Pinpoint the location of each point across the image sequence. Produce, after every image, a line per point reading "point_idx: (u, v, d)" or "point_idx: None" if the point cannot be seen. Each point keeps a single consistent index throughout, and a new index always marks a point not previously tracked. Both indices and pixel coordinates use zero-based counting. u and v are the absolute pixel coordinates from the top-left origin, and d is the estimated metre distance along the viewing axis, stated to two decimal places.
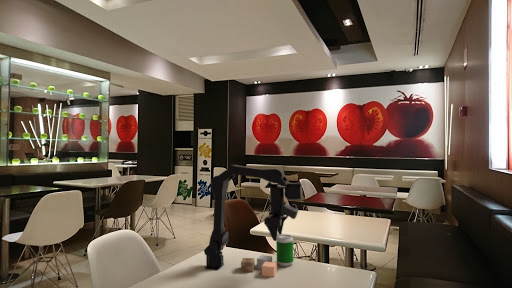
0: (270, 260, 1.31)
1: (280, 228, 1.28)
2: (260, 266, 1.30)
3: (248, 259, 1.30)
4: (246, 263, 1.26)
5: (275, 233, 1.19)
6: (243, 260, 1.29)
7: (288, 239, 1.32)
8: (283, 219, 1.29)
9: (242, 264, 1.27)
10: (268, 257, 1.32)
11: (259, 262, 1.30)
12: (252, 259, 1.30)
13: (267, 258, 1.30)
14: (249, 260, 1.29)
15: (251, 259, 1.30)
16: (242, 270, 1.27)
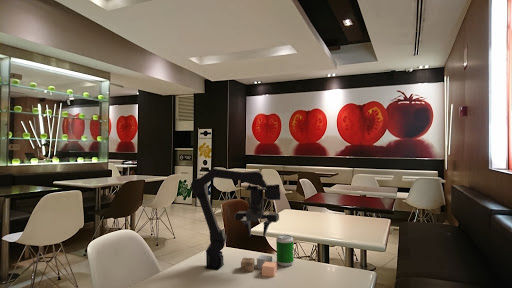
0: (270, 260, 1.31)
1: None
2: (260, 266, 1.30)
3: (248, 259, 1.30)
4: (246, 263, 1.26)
5: None
6: (243, 260, 1.29)
7: (288, 239, 1.31)
8: None
9: (242, 264, 1.27)
10: (268, 257, 1.32)
11: (259, 262, 1.30)
12: (252, 259, 1.30)
13: (267, 258, 1.30)
14: (249, 260, 1.29)
15: (251, 259, 1.30)
16: (242, 270, 1.27)
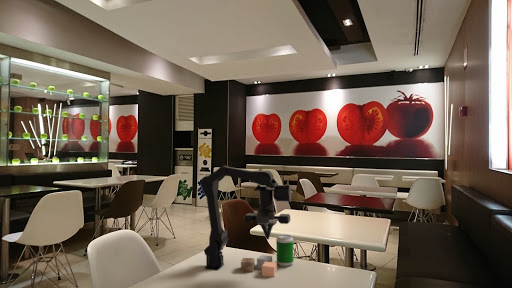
0: (270, 260, 1.31)
1: None
2: (260, 266, 1.30)
3: (248, 259, 1.30)
4: (246, 263, 1.26)
5: None
6: (243, 260, 1.29)
7: (288, 239, 1.31)
8: None
9: (242, 264, 1.27)
10: (268, 257, 1.32)
11: (259, 262, 1.30)
12: (252, 259, 1.30)
13: (267, 258, 1.30)
14: (249, 260, 1.29)
15: (251, 259, 1.30)
16: (242, 270, 1.27)
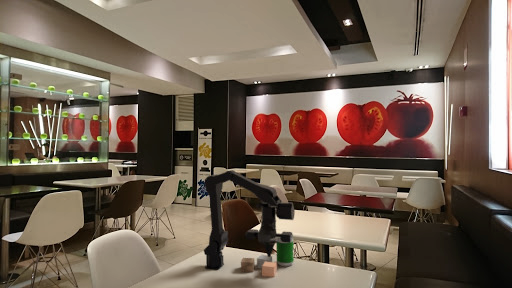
0: (270, 260, 1.31)
1: None
2: (260, 266, 1.30)
3: (248, 259, 1.30)
4: (246, 263, 1.26)
5: None
6: (243, 260, 1.29)
7: None
8: None
9: (242, 264, 1.27)
10: (268, 257, 1.32)
11: (259, 262, 1.30)
12: (252, 259, 1.30)
13: (267, 258, 1.30)
14: (249, 260, 1.29)
15: (251, 259, 1.30)
16: (242, 270, 1.27)
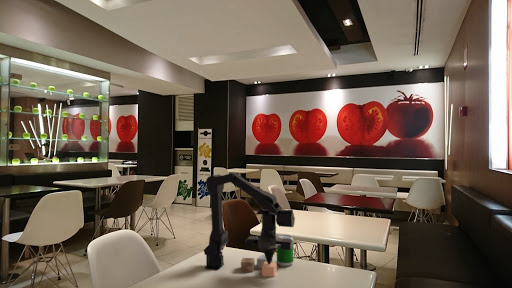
0: None
1: None
2: (260, 266, 1.30)
3: (248, 259, 1.30)
4: (246, 263, 1.26)
5: None
6: (243, 260, 1.29)
7: None
8: None
9: (242, 264, 1.27)
10: None
11: (259, 262, 1.30)
12: (252, 259, 1.30)
13: None
14: (249, 260, 1.29)
15: (251, 259, 1.30)
16: (242, 270, 1.27)
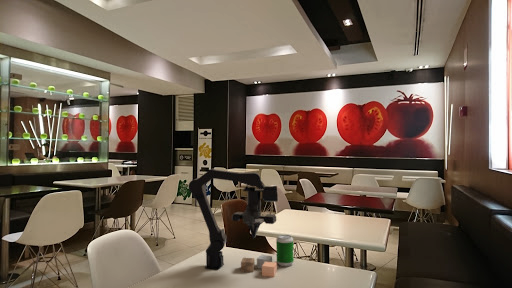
0: (270, 260, 1.31)
1: None
2: (260, 266, 1.30)
3: (248, 259, 1.30)
4: (246, 263, 1.26)
5: None
6: (243, 260, 1.29)
7: (288, 239, 1.32)
8: None
9: (242, 264, 1.27)
10: (268, 257, 1.32)
11: (259, 261, 1.30)
12: (252, 259, 1.30)
13: (267, 258, 1.30)
14: (249, 260, 1.29)
15: (251, 259, 1.30)
16: (242, 270, 1.27)
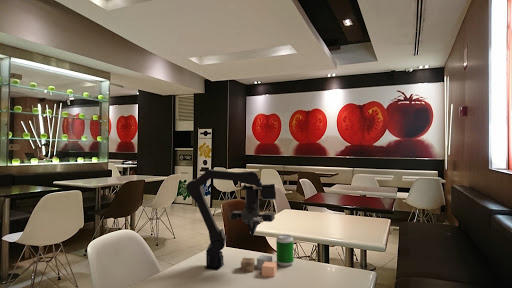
0: (270, 260, 1.31)
1: None
2: (260, 266, 1.30)
3: (248, 259, 1.30)
4: (246, 263, 1.26)
5: None
6: (243, 260, 1.29)
7: (288, 239, 1.32)
8: None
9: (242, 264, 1.27)
10: (268, 257, 1.32)
11: (259, 261, 1.30)
12: (252, 259, 1.30)
13: (267, 258, 1.30)
14: (249, 260, 1.29)
15: (251, 259, 1.30)
16: (242, 270, 1.27)
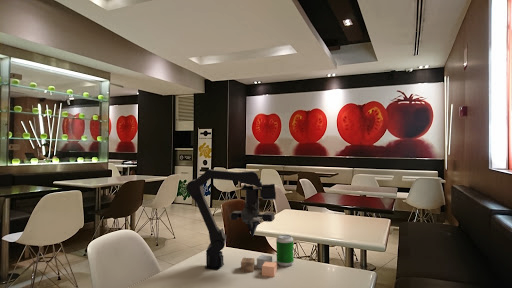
0: (270, 260, 1.31)
1: None
2: (260, 266, 1.30)
3: (248, 259, 1.30)
4: (246, 263, 1.26)
5: None
6: (243, 260, 1.29)
7: (288, 239, 1.32)
8: None
9: (242, 264, 1.27)
10: (268, 257, 1.32)
11: (259, 261, 1.30)
12: (252, 259, 1.30)
13: (267, 258, 1.30)
14: (249, 260, 1.29)
15: (251, 259, 1.30)
16: (242, 270, 1.27)
